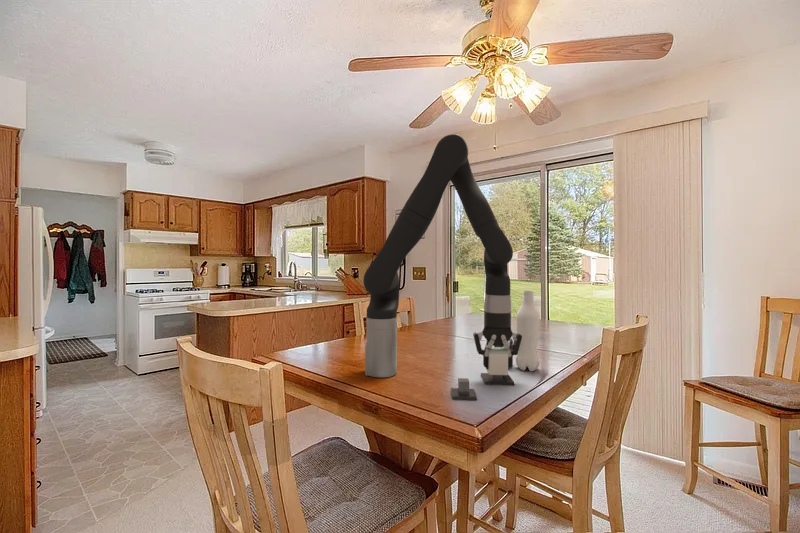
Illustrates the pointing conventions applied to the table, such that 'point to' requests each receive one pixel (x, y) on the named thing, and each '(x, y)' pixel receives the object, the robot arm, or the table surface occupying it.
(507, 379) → the tall post
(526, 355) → the water bottle
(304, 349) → the table surface
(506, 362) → the cream upright block
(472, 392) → the short post
